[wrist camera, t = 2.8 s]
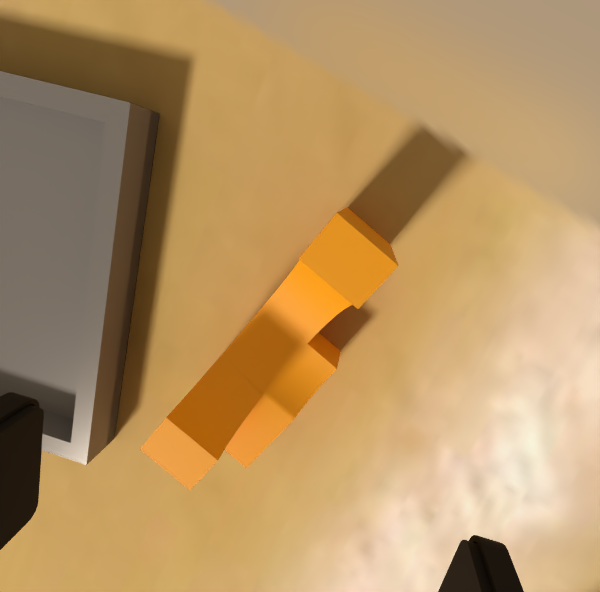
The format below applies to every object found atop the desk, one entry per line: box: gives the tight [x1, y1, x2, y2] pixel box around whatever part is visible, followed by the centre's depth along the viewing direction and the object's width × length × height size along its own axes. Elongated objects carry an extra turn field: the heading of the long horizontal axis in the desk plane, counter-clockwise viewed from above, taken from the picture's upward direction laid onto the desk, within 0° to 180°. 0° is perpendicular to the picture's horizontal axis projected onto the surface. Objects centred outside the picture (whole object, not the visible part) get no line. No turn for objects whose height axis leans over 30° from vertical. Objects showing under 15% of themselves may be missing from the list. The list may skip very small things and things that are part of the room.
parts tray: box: [0, 71, 159, 465], centre depth 21 cm, size 12×18×2 cm, turn 166°
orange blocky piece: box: [140, 208, 398, 490], centre depth 18 cm, size 12×4×6 cm, turn 141°
